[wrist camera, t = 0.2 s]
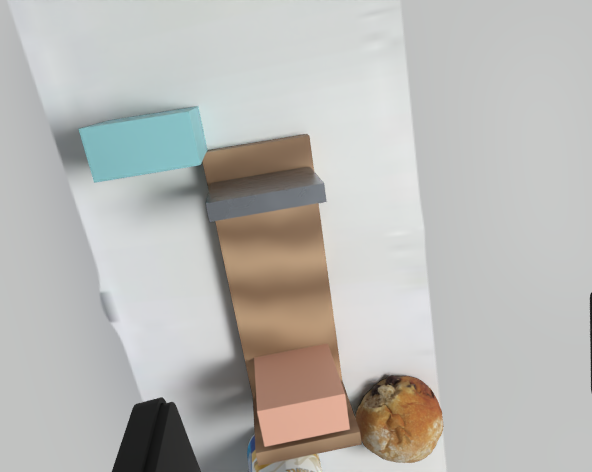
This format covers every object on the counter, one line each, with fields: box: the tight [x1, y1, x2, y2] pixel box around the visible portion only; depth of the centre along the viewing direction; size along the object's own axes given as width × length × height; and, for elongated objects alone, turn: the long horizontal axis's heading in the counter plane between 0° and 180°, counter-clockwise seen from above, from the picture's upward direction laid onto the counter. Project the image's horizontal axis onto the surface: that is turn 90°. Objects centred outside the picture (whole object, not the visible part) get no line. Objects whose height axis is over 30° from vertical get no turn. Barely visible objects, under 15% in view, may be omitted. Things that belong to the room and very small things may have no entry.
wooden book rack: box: [203, 134, 362, 466], centre depth 43 cm, size 28×10×10 cm, turn 8°
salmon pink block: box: [254, 344, 350, 447], centre depth 46 cm, size 4×8×8 cm, turn 98°
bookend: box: [206, 166, 326, 222], centre depth 39 cm, size 2×9×8 cm, turn 99°
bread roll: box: [355, 376, 443, 463], centre depth 53 cm, size 10×10×8 cm
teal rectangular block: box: [79, 106, 207, 183], centre depth 38 cm, size 4×8×8 cm, turn 98°
